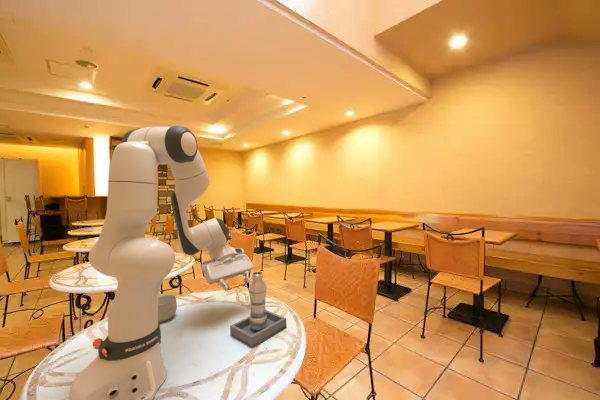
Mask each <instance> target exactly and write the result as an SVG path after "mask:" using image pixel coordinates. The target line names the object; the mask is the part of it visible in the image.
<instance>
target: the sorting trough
mask: <svg viewBox="0 0 600 400" xmlns="http://www.w3.org/2000/svg"><path fill="white" fill-rule="evenodd" d="M266 315H267V325H266V327H265V328H264V329H262V330H259V331H255V330H252V329H251V327H250V324H249V319H250V315H249V316H248V317H246V318H243V319H240V320H239V321H237V322H235V323H233V324H230V325H229V330H230V331H229V334H230V336H231V337H232V338H234V339H236V340H237V341H239V342H240V343H242V344H244V345H246V346H247V347H249V348H250V349H254V348H255V347H257V346H259V345H260V344H261V343H263V342H265V341H267V340H268V339H270V338H271V337H273V336H275V335H276V334H279V333H280V332H282V331H283V330H286V328H287V318H286V317H284V316H282V315H279V314H277V313H275V312H272V311H270V310H267V309H266Z"/></svg>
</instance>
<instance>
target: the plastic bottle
mask: <svg viewBox="0 0 600 400" xmlns="http://www.w3.org/2000/svg"><path fill="white" fill-rule="evenodd" d="M263 275H264V274H263V272H262V271H254V272H253V273H252V277H251V278H252V281H250V284H249V287H248V295H249V299H250V312H249V313H250V314H249V316H250V319H249V324H250V327H251V329H252V330H255V331H259V330H262V329H264V328H265V327H266V325H267V315H266V310H267V309H266V297H267V296H266V295H267V284H266V282H265V281H264V277H263Z"/></svg>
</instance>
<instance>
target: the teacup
mask: <svg viewBox="0 0 600 400" xmlns="http://www.w3.org/2000/svg"><path fill="white" fill-rule="evenodd" d="M177 304H178V303H177V295H175V294H173V293H169V294H164V293H161V294H160V295H158V323H162V322H166V321H168V320H170V319H171V318H173V316H174V315H175V314H176V312H177V306H178V305H177Z"/></svg>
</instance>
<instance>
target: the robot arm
mask: <svg viewBox="0 0 600 400" xmlns="http://www.w3.org/2000/svg"><path fill="white" fill-rule="evenodd" d="M198 146H199V145H198V140H197V138H196V136H195V134H194V133H193V132H192V131H191V130H190V129H189V128H188V127H184V126H179V125H173V126H158V125H153V126H146V127H142V128H140V127H139V128H134V129H131V130H129V131H127V132H125V133H124V135H123V136H122V137H121V141H120V143H119V144H117V146H115V148H114V150H113V153H112V156H111V160H110V165H109V171H108V181H107V182H108V183H107V200H106V212H105V213H106V214H105V218H104V221H103V225H102V227H101V231H100V233H99V237H98V238H97V241H96V242H95V243H94V244H93V246H92V247H91V248H90V250H89V251H88V261H89V264H90V265H91V267H92V268H93V269H94V270H95V271H97V272H99V274H101V275H103V276H106V277H112V278H116V280H117V288H116V290H115V291H116V292H115V295H114V298H113V299H112V300H111V301H110V302H109V304H108V305H107V308H106V314H107V316H106V317H107V336H106V338H105V339H104V340H103V339H102V338H100V337H99V338H95V339H94V340H93V341H92V344H91V345H92V346H93V348H94V349H95V350H98V354H97V356H96V357H95V358H94V359H93V360H92V361H91V362H90V363H89V364H88V365H87V366H86V367H85V368H84V369H83V370H82V371H81V372H79V374H77V375H76V377H75V378H74V379H73V381H72V383H71V386H70V390H69V394H68V395H69V396H66V397H64V398H63V399H62V400H154V398H155V397H154V396H156V395H157V391H158V389H159V388H160V387H162V384H163V383H164V382H165V380H166V379H167V376H168V371H167V368H166V366H165V363H164V360H163V357H162V351H161V344H162V341H161V340H162V329H161V323H160V322H158V296H160V295H159V294H160V289H161V286H162V283H163V281H164V280H165V278H166V277H168V276H169V274H170V273H171V272H172V270H173V268H174V267H175V263H176V262H175V261H176V253H175V251H174V249H173V246H171V245H170V244H168V243H166V242H164V241H162V240H159V239H157V238H155V237H145V234H146V232H147V228H148V226H149V224H150V222H151V221H152V219H153V218H154V217H156V215H157V213H158V203H159V201H158V199H159V198H158V196H159V195H158V194H159V171H158V167H159V166H160V165H161V166H163V165H169V167H170V170H171V173H172V177H173V179H174V184H175V185H174V190H173V191H172V192H171V194H170V203H171V208H172V213H173V218H174V222H175V227H176V232H177V243H178V246H179V249H180V251H181V252H182V253H183V254H185V255H190V256H195V255H196V254H198V253H200V252H202V251H204V250H205V249H206V250H207V251H208V255H209V258H210V259H209V260H205V261H203V262H202V263H201V265H200V267H201V270H202V272H203V274H204V278H205V281H206V283H207V284H209V285H214V284H218V285H219V286H220V287H221V288H223V289H224V291H225V292H227V291H229V290H230V288H231V286H230V285H229V284H230V283H226V282H225V281H226V280H228V279H232V278H236V277H238V276H243V277H244V279H243V283H244V284H248V283H251V279H250V277H249V273H251V271H252V270H253V269H254V264H253V262H252V261H251V259H250V258H249V256H248V255H247V254H245V250H244V249H243V248H241V247H240V248H239V247H234V246H233V247H232V246H230V245H229V243H228V242H227V240H228V237H229V234H230V231H229V229H228V227H227V225H226V224H225V222H224V220H222V219H221V218H218V217H214V218H210V219H208V220H205V221H203V222H202V223H199V224H197V225H194V226H191V227H190V226H189V222H188V217H187V210H188V208H189V207H190V206H191V205H192V204H193V203H194V202H195V201H196V200H197V199H199V198H201V196H203V195H204V193H205V192H206V191H207V190H208V188H209V185H210V176H209V173H208V170H207V166H206V163H205V162H204V159H203V157H202V155H201V153H200V151H199V149H198Z"/></svg>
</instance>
